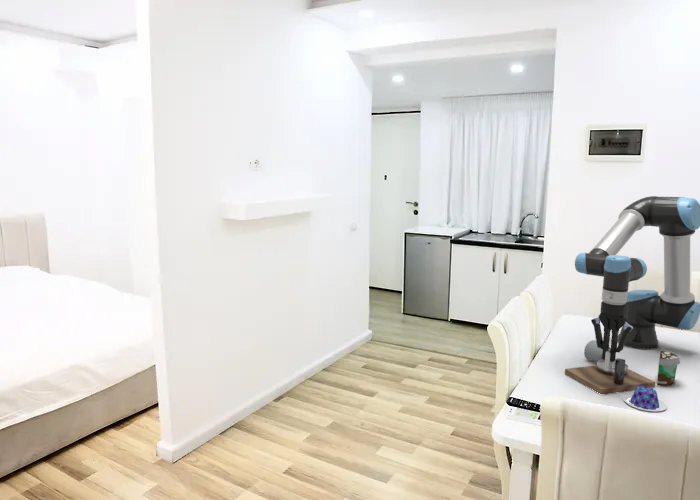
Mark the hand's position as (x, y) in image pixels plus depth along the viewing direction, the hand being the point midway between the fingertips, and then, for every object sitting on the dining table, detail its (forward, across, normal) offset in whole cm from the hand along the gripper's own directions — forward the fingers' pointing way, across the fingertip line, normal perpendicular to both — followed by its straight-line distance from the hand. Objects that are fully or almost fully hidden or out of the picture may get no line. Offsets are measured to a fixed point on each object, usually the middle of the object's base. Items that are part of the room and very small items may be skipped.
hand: (607, 369), depth 174 cm
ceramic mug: (+7, -11, +24) cm, 28 cm away
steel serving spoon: (+4, -1, +8) cm, 9 cm away
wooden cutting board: (+7, -2, +7) cm, 10 cm away
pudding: (+7, +13, -4) cm, 15 cm away
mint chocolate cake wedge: (+7, +13, +21) cm, 25 cm away
